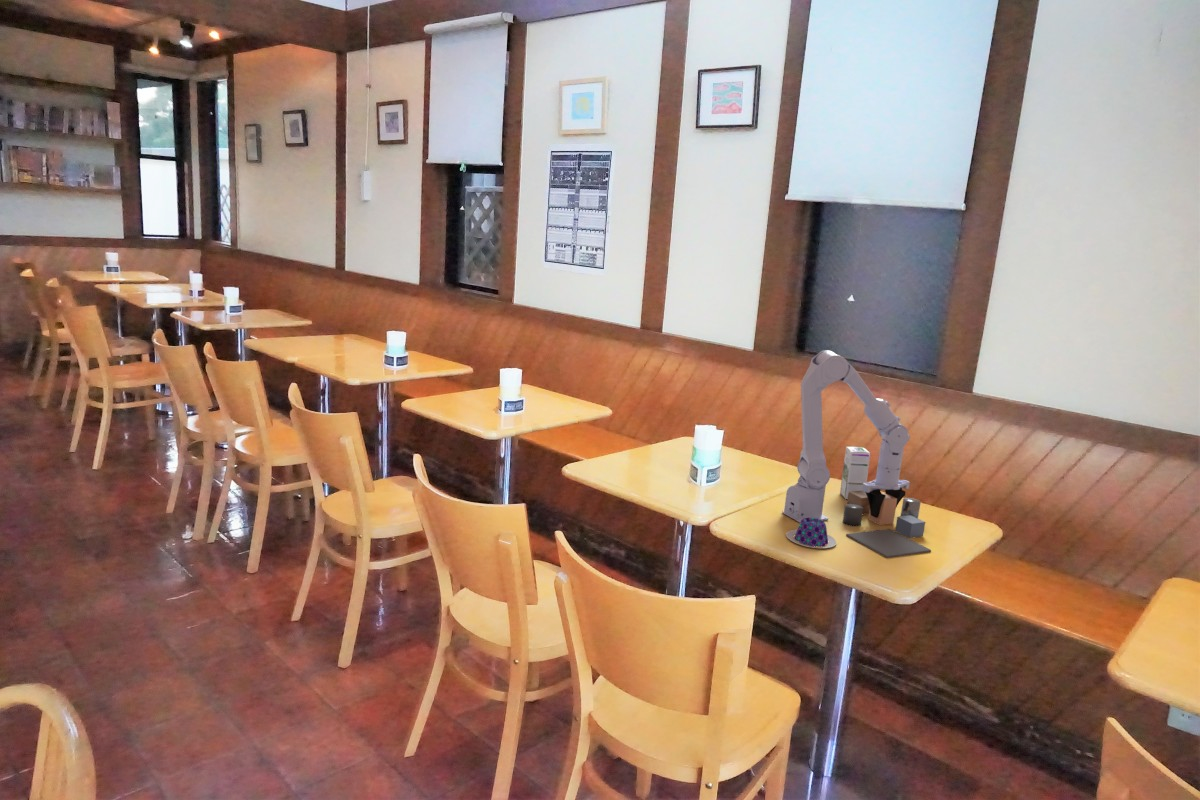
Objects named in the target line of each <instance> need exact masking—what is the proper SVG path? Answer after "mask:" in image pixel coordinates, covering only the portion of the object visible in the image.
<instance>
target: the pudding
mask: <svg viewBox="0 0 1200 800" xmlns="http://www.w3.org/2000/svg"><path fill="white" fill-rule="evenodd" d="M785 535H786V538H787V539H788V540H789V541H791V542H793V543H795V544H797V545H799V546H803V547H807V548H813V549H828V548H833V547H835V546H836V545H837V540H836V539H835V538H834V537H833V536H831V535H830V534H828V530H827V524H826V523H825V522H824V520H819V519H817V518H809V517H808V518H803V519H802V520H801V522H799V524H798V526H797V529H792V530H789V531H787V532H786V534H785ZM794 535H795V536H794ZM793 536H794V537H793ZM793 538H794V539H793ZM828 541H829V542H828ZM814 546H815V547H814ZM816 546H817V547H816ZM821 546H822V547H821ZM824 546H825V547H824Z"/></svg>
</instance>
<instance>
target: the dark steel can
mask: <svg viewBox="0 0 1200 800" xmlns="http://www.w3.org/2000/svg"><path fill="white" fill-rule="evenodd" d="M921 502H922V501H920V500H919V499H917V498H913V497H903V498H902V505H901V512H900V516H908V515H911V516H913V517H915V518H918V519H919V515H920V509H921Z"/></svg>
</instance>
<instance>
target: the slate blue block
mask: <svg viewBox="0 0 1200 800" xmlns="http://www.w3.org/2000/svg"><path fill="white" fill-rule="evenodd" d="M925 526H926V521H924V520H922V519H920V518H919V517H918V518H915V517H913V516H911V515H908V516H901V515H900V516H896V524H895V529H894V530H895V531H894V532H896V531H897V532H896V533H898V534H900V535H902V536H904V537H906V538H908V537H909V538H908V539H913V537H915V538H920V536H923V537H924V533H925V528H926V527H925Z"/></svg>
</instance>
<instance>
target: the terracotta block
mask: <svg viewBox="0 0 1200 800" xmlns="http://www.w3.org/2000/svg"><path fill="white" fill-rule="evenodd" d="M881 493H882V494H884V495H886V496H885V498H884V500H883V502H882V505H881V508H880V513H879V516H878V518H875V517H873V516H871V513H870V510H869V514H868V517H867V519H868V520H869V521H872V522H873V523H876V524H877V525H879V526H884V525H885V524H886V525H891V524H894V521H895V517H896V516H895V515H896V509H897V507H896V503H897V498H895V497H893V496H890V495H888V494H886V493H885V492H881ZM886 525H885V526H886Z"/></svg>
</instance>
